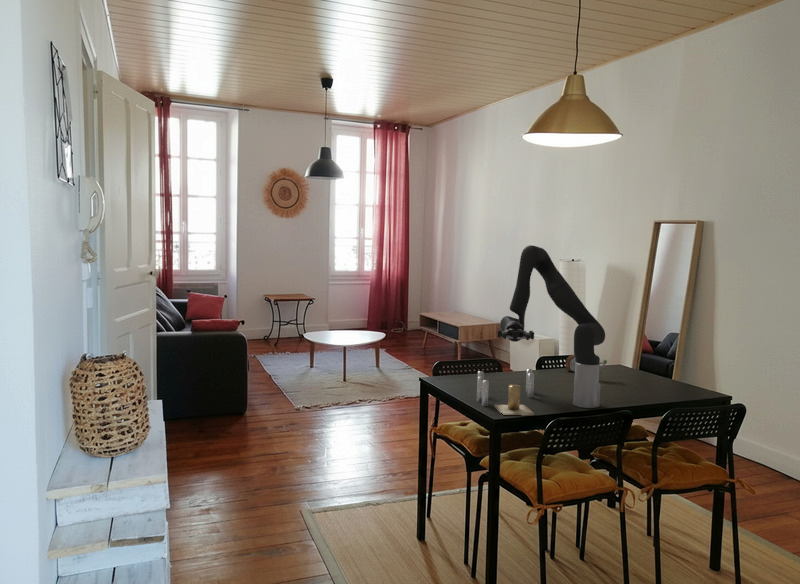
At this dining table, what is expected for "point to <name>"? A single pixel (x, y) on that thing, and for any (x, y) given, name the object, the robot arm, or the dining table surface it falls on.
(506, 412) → the birch pad
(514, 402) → the bronze spacer
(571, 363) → the tin
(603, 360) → the mechanical component
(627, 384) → the dining table surface
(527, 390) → the steel posts
